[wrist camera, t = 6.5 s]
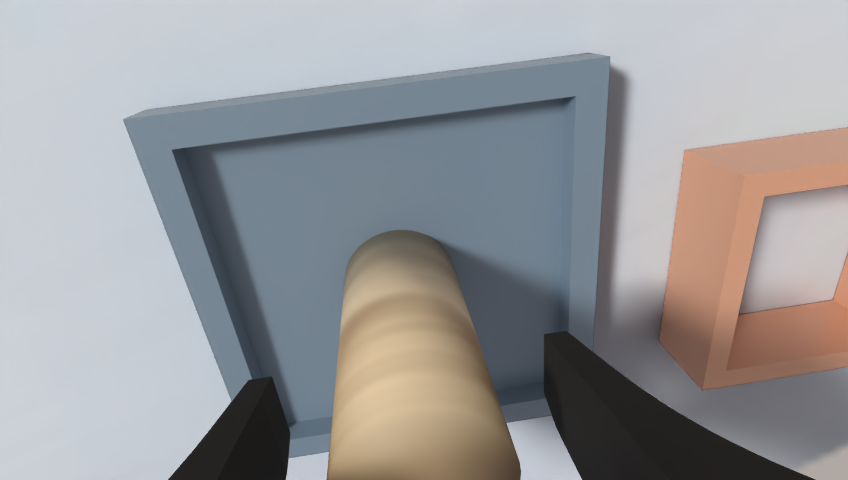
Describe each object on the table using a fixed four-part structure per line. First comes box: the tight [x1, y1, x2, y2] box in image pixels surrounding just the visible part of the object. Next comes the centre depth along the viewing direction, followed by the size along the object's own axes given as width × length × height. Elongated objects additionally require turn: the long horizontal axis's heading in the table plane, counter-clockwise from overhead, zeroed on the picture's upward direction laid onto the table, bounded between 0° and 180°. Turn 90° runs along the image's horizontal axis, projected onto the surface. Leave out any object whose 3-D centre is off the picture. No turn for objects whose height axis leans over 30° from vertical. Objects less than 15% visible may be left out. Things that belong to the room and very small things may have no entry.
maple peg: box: [327, 230, 521, 480], centre depth 13 cm, size 4×4×8 cm
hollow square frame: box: [659, 127, 848, 391], centre depth 18 cm, size 9×9×3 cm
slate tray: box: [123, 53, 610, 458], centre depth 17 cm, size 14×14×2 cm
